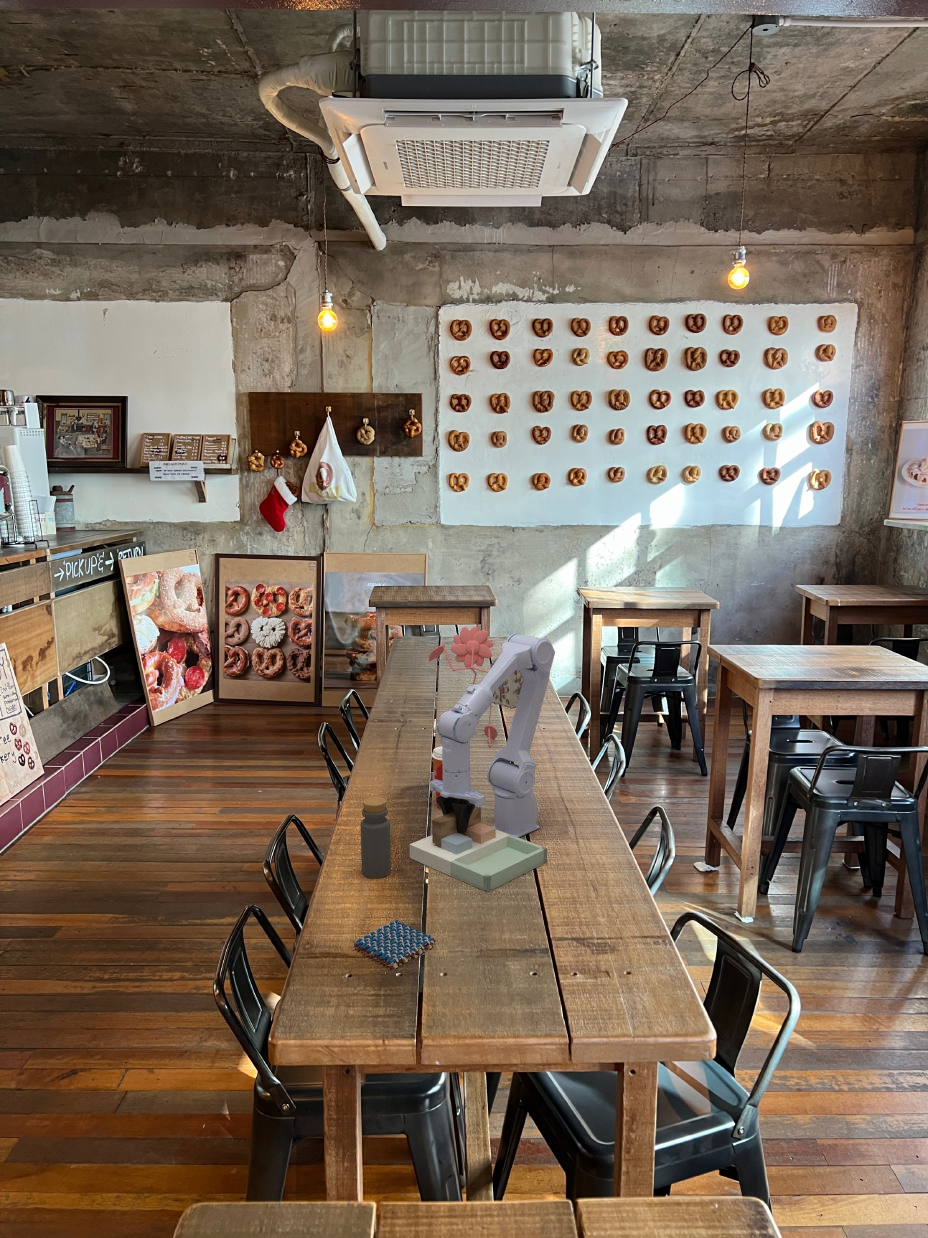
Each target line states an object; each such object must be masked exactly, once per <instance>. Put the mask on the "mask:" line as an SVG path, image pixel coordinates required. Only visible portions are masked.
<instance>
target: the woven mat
mask: <svg viewBox="0 0 928 1238" xmlns="http://www.w3.org/2000/svg"><path fill="white" fill-rule="evenodd" d="M435 943H436V939H435V938H434V937H431V935H430V934H425V932H423V931H422V932H421V931H418V929H417V928H415V929H414V928H412V926H410V925H407V924H405V922H401V921H399V920H398V919H395V920H394V921H390V922H389V923H386V925H382V926H381V927H379V928H377V929H376V930H374V931H372V932H370V933H368V934H367V935H364V937H360V938H358V939H357V940H356V941H355V942H354V943H353V948H355V949H356V951H357V952H361V953H363V954H366V955H367V956H369V957H370V958H372V959H374V960H376V961H378V962H380V963H382V964H384V965H386V966H388V968H390V969H391V970H393V969H395V970H396V969H398V967H399V966H402V965H403V963H404V964H405V963H406V964H407V963H408V962H409V961H410V960H412V958H414V959H416V958H418V957H419V956H421V955H422V954H423V952H424V953H425V952H426V949H427V950H431V949H432V947H436V944H435Z"/></svg>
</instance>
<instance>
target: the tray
mask: <svg viewBox="0 0 928 1238" xmlns="http://www.w3.org/2000/svg"><path fill="white" fill-rule="evenodd" d="M547 862H548V847H545V846H542V845H540V844H537V843H533V842H532V841H528V840H525V839H523V838H520V837H519V838H518V837H515V836H512V835H509V836H507V847H506V848H504V849H502V850H499V851H497V852H495V853H493V854H491V855H489V856H486V857H484V858H482V859H480V860H478V861H475V862H473V863H471V864H469V865H465V864H462V863H460V862H457V861H455V860H453V861H450V875H449V876H450V877H452V878H454V879H457V880H459V881H462V882H464V883H466V884H468V885H470V886H472V887H475V888H477V889H478V890H479V889H480V890H482V891H484V892H487V893H489V892H490V891H492V890H494V889H496V888H499V887H501V886H502V885H505V884H507V883H509V882H510V881H512V880H514V879H516V878H518V877H520V876H523V875H525V874H526V873H528V872H530V871H532V870H535V869H536V868H539V867H540V866H542V865H544V864H547Z"/></svg>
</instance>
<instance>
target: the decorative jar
mask: <svg viewBox="0 0 928 1238" xmlns="http://www.w3.org/2000/svg"><path fill="white" fill-rule="evenodd" d="M498 658H499V656H498V657H496V658H495V659H494V661H493V662H492V663H491V664H490V666H489V667H490V668H489V670H490V669H491V668H492V666H493V665H494V663H495V662H496V660H497V659H498ZM523 681H524V678H523V676H522V674H521V672H520V671H519V670H515V671H514V672H513V673H512V674H511V675H510V676H509V677H508V678H507V679H506V680H505V681H504V682H503V684H502V685H501V686H500V687H499V688H498V689H497V690H496V691H495V692H494V693H493V703H492V704H495V703H496V705H499V706H503V707H507V708H510V709H516V706H517V703H518V699H519V695H520V692H521V688H522V684H523Z"/></svg>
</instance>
